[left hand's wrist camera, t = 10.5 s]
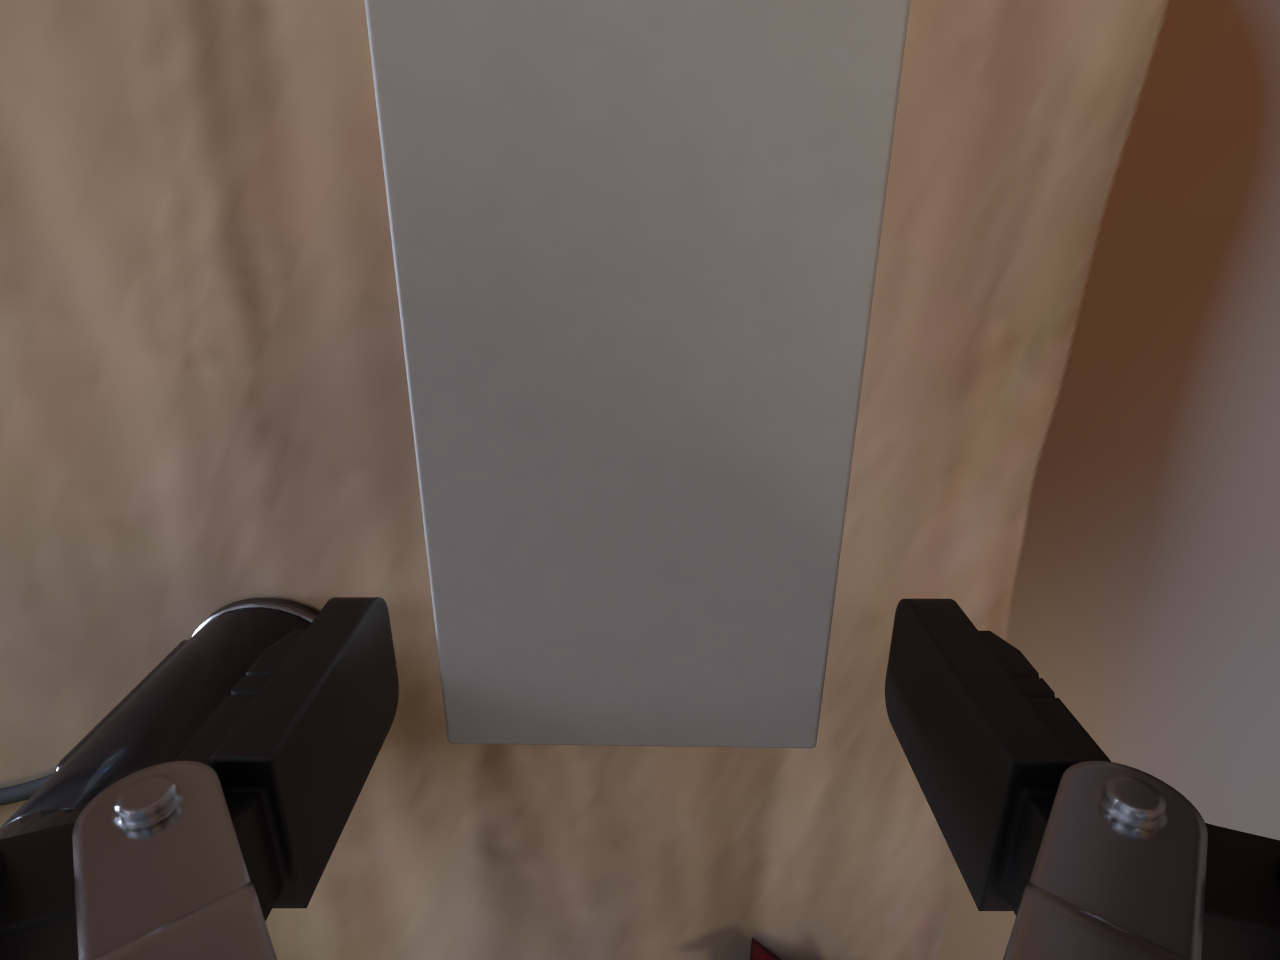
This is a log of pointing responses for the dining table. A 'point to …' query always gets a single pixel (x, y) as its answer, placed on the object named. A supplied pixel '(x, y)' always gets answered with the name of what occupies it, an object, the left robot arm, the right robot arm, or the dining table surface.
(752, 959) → the toy
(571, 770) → the dining table surface
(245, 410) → the dining table surface
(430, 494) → the bar
